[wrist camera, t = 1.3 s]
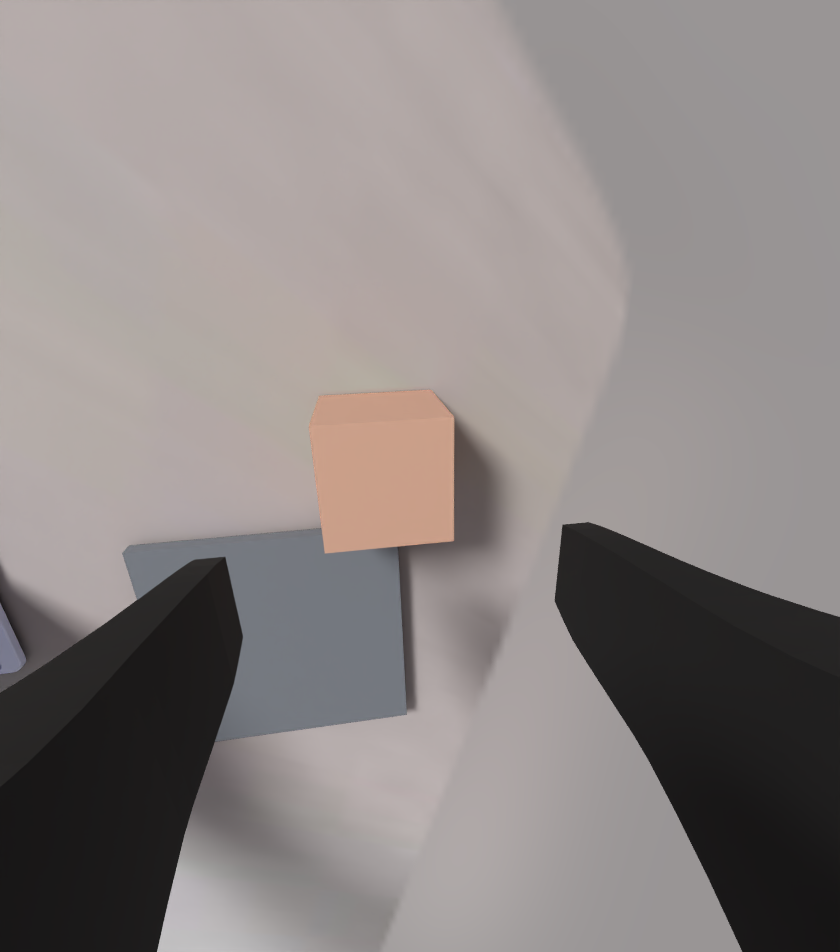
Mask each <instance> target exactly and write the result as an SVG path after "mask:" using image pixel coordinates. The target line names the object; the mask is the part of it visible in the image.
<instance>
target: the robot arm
mask: <svg viewBox="0 0 840 952" xmlns="http://www.w3.org/2000/svg"><path fill="white" fill-rule="evenodd" d="M555 603H556V605H557V607H558V609H559V612H560V614H561V616H562V618H563V621H564V623H565V625H566V627H567V629H568V631H569V633H570V635H571V637H572V639H573V641H574V643H575V644H576V646H577V648H578V649H579V651H580V653H581V654H582V655H583V657H584V659H585V660H586V662H587V664H588V665H589V667H590V668H591V669H592V671H593V673H594V675H595V676H596V677H597V679H598V681H599V682H600V684H601V685H602V687H603V688H604V690H605V692H606V693H607V695H608V696H609V697H610V699H611V701H612V702H613V704H614V705H615V707H616V709H617V710H618V711H619V713H620V715H621V716H622V718H623V719H624V721H625V722H626V724H627V726H628V727H629V728H630V730H631V732H632V733H633V735H634V736H635V738H636V740H637V741H638V743H639V745H640V747H641V748H642V750H643V752H644V753H645V755H646V757H647V758H648V760H649V762H650V764H651V766H652V768H653V770H654V771H655V773H656V775H657V777H658V779H659V781H660V783H661V785H662V787H663V789H664V791H665V793H666V794H667V796H668V798H669V800H670V802H671V804H672V806H673V808H674V810H675V812H676V814H677V816H678V818H679V820H680V822H681V824H682V826H683V828H684V830H685V832H686V833H687V836H688V838H689V840H690V842H691V844H692V846H693V848H694V850H695V852H696V854H697V856H698V858H699V860H700V862H701V864H702V866H703V868H704V870H705V872H706V874H707V876H708V878H709V880H710V883H711V885H712V887H713V889H714V891H715V894H716V896H717V898H718V900H719V902H720V904H721V907H722V909H723V911H724V913H725V915H726V917H727V919H728V922H729V924H730V926H731V928H732V930H733V932H734V935H735V937H736V939H737V941H738V943H739V945H740V948H741V950H742V952H840V617H837V616H834V615H831V614H827V613H824V612H820V611H817V610H814V609H811V608H808V607H805V606H802V605H799V604H796V603H793V602H790V601H787V600H784V599H780V598H777V597H774V596H771V595H768V594H765V593H762V592H760V591H757V590H754V589H751V588H749V587H746V586H743V585H741V584H738V583H736V582H733V581H730V580H728V579H725V578H723V577H720V576H718V575H715V574H712V573H710V572H707V571H705V570H702V569H700V568H698V567H695V566H693V565H690V564H688V563H686V562H683V561H680V560H678V559H676V558H674V557H672V556H669V555H667V554H665V553H662V552H660V551H658V550H656V549H653V548H651V547H649V546H647V545H644V544H642V543H640V542H637V541H635V540H633V539H631V538H628V537H626V536H624V535H621V534H619V533H617V532H614V531H612V530H609V529H607V528H604V527H601V526H598V525H596V524H592V523H589V522H587V523H577V524H566V525H563V527H562V536H561V546H560V555H559V564H558V574H557V584H556V593H555ZM242 641H243V634H242V629H241V625H240V620H239V616H238V611H237V607H236V602H235V598H234V593H233V589H232V584H231V580H230V575H229V571H228V566H227V562H226V557H217V558H206V559H195V560H193V561H191V562H189V563H188V564H186V565H185V566H183V567H182V568H180V569H179V570H177V571H176V572H175V573H173V574H172V575H170V576H169V577H168V578H166V579H165V580H164V581H162V582H161V583H160V584H158V585H157V586H155V587H154V588H153V589H151V590H150V591H149V592H147V593H146V594H145V595H143V596H142V597H141V598H139V599H138V600H137V601H135V602H134V603H133V604H131V605H130V606H128V607H127V608H126V609H124V610H123V611H122V612H120V613H119V614H118V615H116V616H115V617H114V618H112V619H111V620H109V621H108V622H107V623H105V624H104V625H102V626H101V627H100V628H98V629H97V630H95V631H94V632H92V633H91V634H89V635H88V636H86V637H85V638H84V639H82V640H81V641H79V642H78V643H76V644H75V645H73V646H72V647H70V648H69V649H68V650H66V651H65V652H63V653H62V654H60V655H59V656H57V657H56V658H54V659H53V660H51V661H50V662H49V663H47V664H46V665H44V666H42V667H41V668H39V669H38V670H36V671H35V672H33V673H32V674H30V675H28V676H27V677H25V678H24V679H22V680H20V681H19V682H17V683H16V684H14V685H12V686H11V687H9V688H8V689H6V690H4V691H2V692H1V693H0V952H157V949H158V944H159V940H160V935H161V931H162V926H163V922H164V917H165V913H166V909H167V904H168V900H169V896H170V892H171V888H172V884H173V879H174V875H175V871H176V867H177V863H178V859H179V855H180V851H181V846H182V842H183V838H184V834H185V831H186V828H187V824H188V821H189V818H190V814H191V811H192V807H193V804H194V801H195V798H196V795H197V792H198V789H199V786H200V783H201V781H202V778H203V775H204V772H205V769H206V766H207V763H208V760H209V757H210V754H211V751H212V748H213V745H214V742H215V739H216V736H217V734H218V731H219V728H220V725H221V722H222V719H223V716H224V713H225V710H226V707H227V704H228V701H229V698H230V695H231V691H232V688H233V685H234V681H235V677H236V672H237V667H238V662H239V657H240V651H241V646H242ZM25 662H26V657H25V655H24V653H23V651H22V649H21V646H20V644H19V642H18V640H17V638H16V636H15V634H14V631H13V629H12V627H11V625H10V623H9V621H8V618H7V616H6V614H5V612H4V610H3V608H2V606H1V603H0V674H6V673H13V672H17V671H18V670H20V669H21V668H22V666H23V665H24V664H25Z"/></svg>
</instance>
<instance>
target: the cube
mask: <svg viewBox="0 0 840 952" xmlns="http://www.w3.org/2000/svg"><path fill="white" fill-rule="evenodd" d="M309 431H310V439H311V447H312V455H313V463H314V471H315V479H316V487H317V495H318V503H319V511H320V519H321V527H322V535H323V543H324V551H325V553H335V552H346V551H356V550H367V549H377V548H387V547H398V546H408V545H418V544H429V543H439V542H450V541H454V416H453V415H452V414H451V413H450V411H449V410H448V409H447V408H446V407H445V406H444V404H443V403H442V402H441V401H440V400H439V399H438V397H437V396H436V395H435V394H434V393H433V391H432V390H418V391H399V392H381V393H363V394H344V395H326V396H319V398H318V401H317V404H316V407H315V409H314V412H313V415H312V418H311V421H310V424H309Z"/></svg>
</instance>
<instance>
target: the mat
mask: <svg viewBox="0 0 840 952" xmlns="http://www.w3.org/2000/svg"><path fill="white" fill-rule="evenodd" d="M122 554H123V557H124V560H125V563H126V567H127V570H128V573H129V576H130V579H131V582H132V585H133V588H134V591H135V594H136V598H137V600H138V599H139V598H141V597H142V596H143V595H145V594H146V593H147V592H149V591H150V590H151V589H153V588H154V587H155V586H157V585H158V584H160V583H161V582H162V581H164V580H165V579H166V578H168V577H169V576H170V575H172V574H173V573H175V572H176V571H177V570H179V569H180V568H182V567H183V566H185V565H186V564H188V563H189V562H191V561H193V560H195V559H206V558H217V557H226V562H227V566H228V571H229V575H230V580H231V584H232V589H233V593H234V598H235V602H236V607H237V611H238V616H239V620H240V625H241V629H242V634H243V641H242V646H241V651H240V657H239V662H238V667H237V672H236V677H235V681H234V685H233V688H232V691H231V695H230V698H229V701H228V704H227V707H226V710H225V713H224V716H223V719H222V722H221V725H220V728H219V731H218V734H217V736H216V739H215V742H217V741H224V740H231V739H238V738H245V737H252V736H259V735H266V734H273V733H281V732H288V731H295V730H302V729H309V728H316V727H323V726H330V725H337V724H344V723H351V722H358V721H365V720H372V719H380V718H387V717H394V716H401V715H407V710H406V691H405V672H404V653H403V633H402V614H401V595H400V576H399V557H398V547H387V548H377V549H367V550H356V551H346V552H335V553H325V551H324V543H323V535H322V528H320V529H308V530H297V531H286V532H275V533H264V534H252V535H241V536H230V537H219V538H208V539H196V540H185V541H174V542H163V543H152V544H140V545H129V546H128V547H127V548H126V550H125V551H124V552H123V553H122Z"/></svg>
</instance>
